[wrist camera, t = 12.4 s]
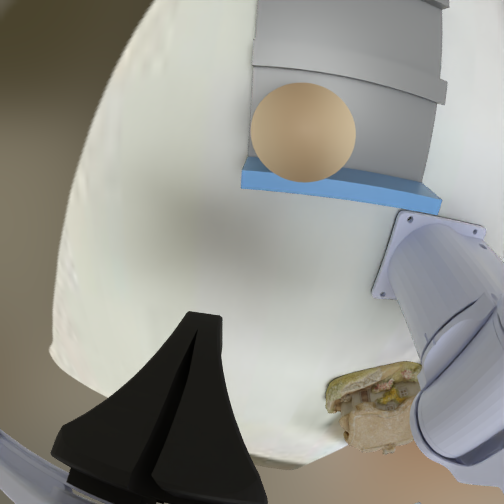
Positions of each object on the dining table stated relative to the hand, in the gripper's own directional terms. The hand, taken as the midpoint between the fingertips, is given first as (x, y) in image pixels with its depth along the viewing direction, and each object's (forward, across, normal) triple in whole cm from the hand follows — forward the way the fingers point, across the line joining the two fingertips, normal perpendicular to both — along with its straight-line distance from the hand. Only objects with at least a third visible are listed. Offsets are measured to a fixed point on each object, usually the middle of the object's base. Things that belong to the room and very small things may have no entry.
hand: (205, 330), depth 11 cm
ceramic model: (+11, -19, +21) cm, 31 cm away
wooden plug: (+9, -3, -8) cm, 12 cm away
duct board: (+10, -6, -11) cm, 16 cm away
